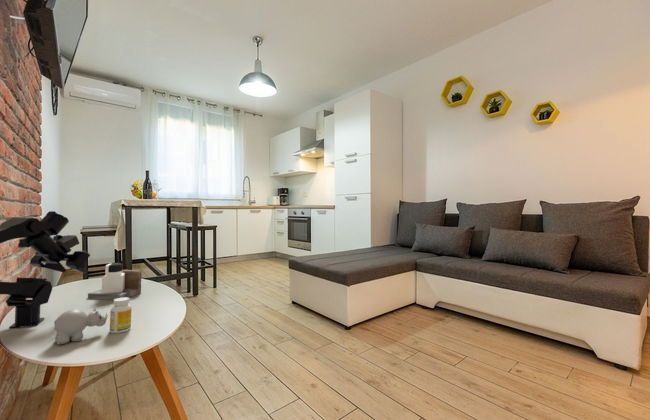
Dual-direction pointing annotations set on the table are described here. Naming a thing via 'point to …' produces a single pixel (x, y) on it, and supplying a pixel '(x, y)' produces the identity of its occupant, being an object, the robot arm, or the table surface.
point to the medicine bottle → (113, 279)
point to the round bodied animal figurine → (76, 324)
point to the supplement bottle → (120, 315)
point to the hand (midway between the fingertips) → (75, 272)
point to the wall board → (130, 288)
